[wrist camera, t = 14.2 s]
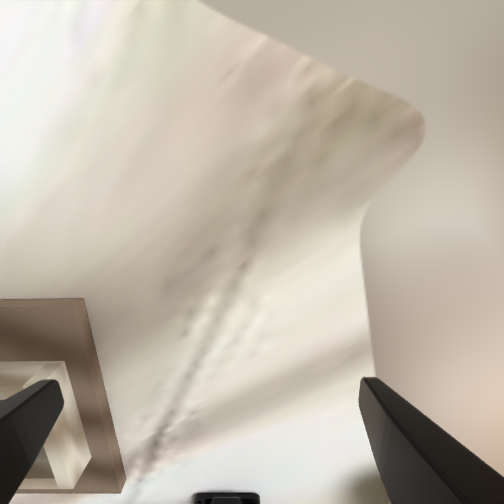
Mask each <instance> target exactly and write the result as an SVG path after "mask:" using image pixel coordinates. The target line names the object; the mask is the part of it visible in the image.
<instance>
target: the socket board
mask: <svg viewBox="0 0 504 504" xmlns="http://www.w3.org/2000/svg"><path fill="white" fill-rule="evenodd" d="M43 379H55V380H57V381H58V382H59V384H60V388H61V391H62V394H63V398H64V407H63V409H62V412H61V413H60V415H59V417H58V419H57V421H56V423H55V425H54V427H53V428H52V430H51V432H50V434H49V436H48V438H47V440H46V442H45V443H44V445H43V447H42V449H41V451H40V453H39V455H38V456H37V458H36V460H35V462H34V464H33V465H32V467H31V469H30V471H29V472H28V474H27V475H26V477H25V479H24V480H23V482H22V483H21V485H20V487H19V488H18V490H17V491H16V493H113V494H120V493H121V491H122V489H123V486H124V484H125V481H126V476H125V472H124V467H123V463H122V459H121V455H120V451H119V446H118V442H117V438H116V434H115V429H114V425H113V421H112V417H111V413H110V408H109V404H108V400H107V396H106V391H105V387H104V383H103V379H102V374H101V370H100V366H99V362H98V358H97V353H96V349H95V345H94V341H93V336H92V332H91V328H90V324H89V320H88V315H87V311H86V307H85V303H84V298H61V299H0V400H5V399H7V398H8V397H10V396H12V395H14V394H16V393H18V392H19V391H21V390H23V389H25V388H27V387H29V386H30V385H32V384H34V383H36V382H38V381H40V380H43Z"/></svg>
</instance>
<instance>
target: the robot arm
mask: <svg viewBox="0 0 504 504" xmlns="http://www.w3.org/2000/svg"><path fill="white" fill-rule="evenodd" d="M63 407H64V398H63V394H62V391H61V388H60V384H59V382H58V381H57V380H55V379H43V380H40V381H38V382H36V383H34V384H32V385H30V386H29V387H27V388H25V389H23V390H21V391H19V392H18V393H16V394H14V395H12V396H10V397H8V398H7V399H5V400H3V401H1V402H0V504H9V502H10V501H11V499H12V498H13V496H14V494H15V493H16V491H17V490H18V488H19V487H20V485H21V483H22V482H23V480H24V479H25V477H26V475H27V474H28V472H29V471H30V469H31V467H32V465H33V464H34V462H35V460H36V458H37V456H38V455H39V453H40V451H41V449H42V447H43V445H44V443H45V442H46V440H47V438H48V436H49V434H50V432H51V430H52V428H53V427H54V425H55V423H56V421H57V419H58V417H59V415H60V413H61V412H62V409H63ZM359 408H360V411H361V415H362V418H363V421H364V425H365V428H366V432H367V435H368V438H369V442H370V445H371V448H372V452H373V455H374V459H375V462H376V465H377V468H378V471H379V473H380V476H381V479H382V481H383V484H384V486H385V489H386V491H387V494H388V496H389V499H390V501H391V504H504V477H503V476H502V475H500V474H499V473H498V472H496V471H495V470H494V469H493V468H491V467H490V466H489V465H487V464H486V463H485V462H484V461H482V460H481V459H480V458H479V457H478V456H476V455H475V454H474V453H472V452H471V451H470V450H469V449H467V448H466V447H465V446H463V445H462V444H461V443H460V442H458V441H457V440H456V439H455V438H453V437H452V436H451V435H450V434H448V433H447V432H446V431H444V430H443V429H442V428H441V427H439V426H438V425H437V424H436V423H434V422H433V421H432V420H431V419H429V418H428V417H427V416H425V415H424V414H423V413H422V412H420V411H419V410H418V409H417V408H415V407H414V406H413V405H411V404H410V403H409V402H408V401H406V400H405V399H404V398H403V397H401V396H400V395H399V394H398V393H396V392H395V391H394V390H392V389H391V388H390V387H389V386H387V385H386V384H385V383H384V382H382V381H381V380H380V379H378V378H377V377H363V378H362V379H361V382H360V391H359ZM194 503H195V504H260V497H259V495H257V494H197V495H196V496H195V502H194Z"/></svg>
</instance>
